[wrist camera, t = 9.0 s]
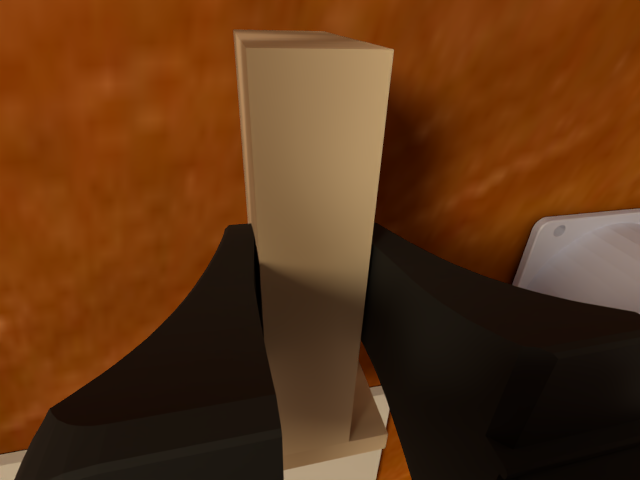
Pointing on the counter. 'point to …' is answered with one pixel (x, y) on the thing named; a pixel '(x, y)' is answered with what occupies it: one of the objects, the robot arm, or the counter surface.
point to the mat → (329, 476)
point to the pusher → (314, 226)
